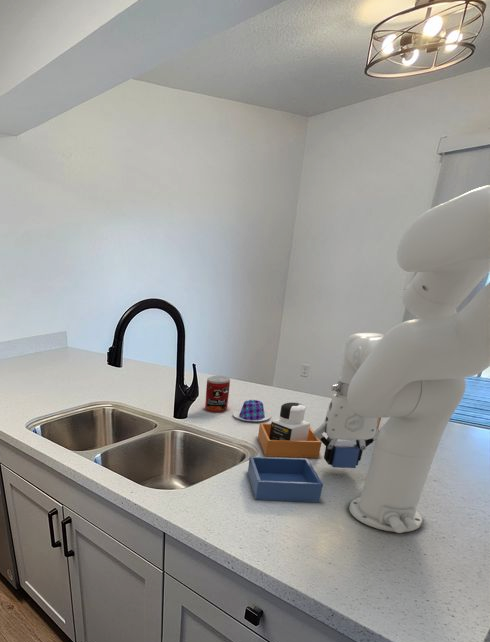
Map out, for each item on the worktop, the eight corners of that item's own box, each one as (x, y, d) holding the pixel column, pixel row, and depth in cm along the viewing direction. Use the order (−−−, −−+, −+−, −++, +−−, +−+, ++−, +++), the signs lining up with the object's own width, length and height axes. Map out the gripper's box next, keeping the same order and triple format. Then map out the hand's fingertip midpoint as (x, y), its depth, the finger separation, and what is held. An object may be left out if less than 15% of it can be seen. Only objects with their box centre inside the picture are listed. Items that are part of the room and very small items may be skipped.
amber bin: (318, 457, 116) (321, 442, 114) (265, 456, 119) (267, 440, 116) (305, 438, 128) (308, 424, 125) (257, 437, 130) (259, 423, 128)
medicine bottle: (267, 443, 124) (273, 403, 119) (286, 438, 127) (292, 399, 121) (287, 452, 119) (294, 410, 113) (306, 446, 121) (314, 405, 116)
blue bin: (319, 502, 96) (323, 484, 94) (255, 499, 99) (258, 481, 97) (304, 475, 108) (307, 458, 106) (247, 473, 110) (249, 456, 108)
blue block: (355, 468, 104) (360, 448, 102) (332, 467, 105) (336, 448, 103) (348, 460, 109) (352, 441, 107) (326, 459, 110) (330, 441, 108)
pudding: (259, 409, 152) (261, 395, 149) (278, 421, 141) (280, 405, 139) (226, 413, 150) (228, 398, 148) (243, 425, 140) (245, 409, 138)
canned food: (204, 412, 153) (206, 381, 148) (205, 405, 159) (207, 375, 154) (227, 413, 151) (230, 382, 146) (227, 405, 157) (230, 375, 152)
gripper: (320, 394, 98) (307, 467, 105) (405, 393, 94) (386, 470, 102) (311, 386, 104) (300, 456, 112) (390, 385, 101) (373, 458, 108)
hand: (341, 462), depth 107 cm, fingers closed on blue block, 5 cm apart
